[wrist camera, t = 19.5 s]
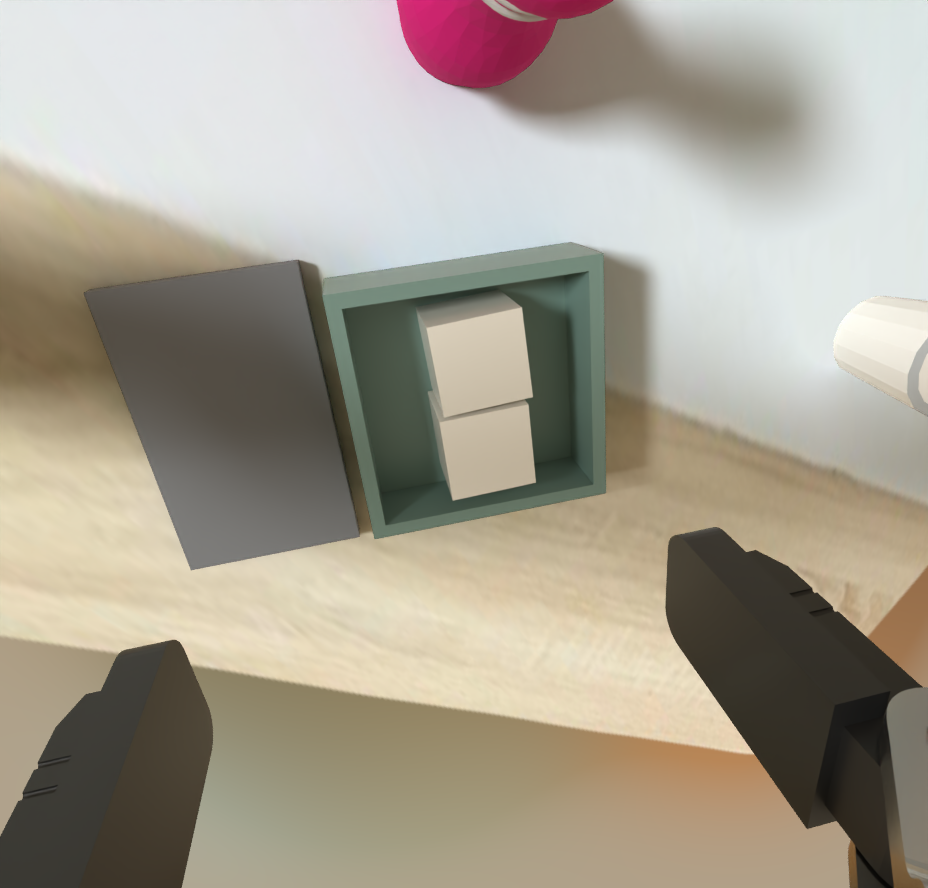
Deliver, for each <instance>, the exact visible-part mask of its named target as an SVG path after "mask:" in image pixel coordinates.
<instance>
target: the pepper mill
mask: <svg viewBox="0 0 928 888" xmlns="http://www.w3.org/2000/svg"><path fill="white" fill-rule="evenodd" d="M612 1H613V0H397V5H398V10H399V15H400V22H401V27H402V31H403V35H404V38H405V41H406V43H407V45H408V47H409V49H410V51H411V52H412V54H413V56H414V57H415V59H416V60H417V62H418V63H419V64H420V65H421V66H422V67H423V68H424V69H425V70H426V71H427V72H428V73H429V74H431V75H432V76H434V77H435V78H437V79H439V80H441V81H443V82H446V83H448V84H453V85H458V86H466V87H471V88H486V87H491V86H496V85H500V84H502V83H504V82H506V81H509V80H511V79H513V78H514V77H516V76H517V75H518V74H520V73H521V72H522V71H524V70H525V69H526V68H527V67H528V66H530V65H531V64H532V62H533V61H534V60H535V59H536V58H537V57H538V56H539V54H540V53H541V52H542V51H543V49H544V48H545V46H546V44H547V43H548V41H549V39H550V38H551V36H552V33H553V31H554V28H555V25H556V23H557V20H558V19H565V18H573V17H577V16H581V15H585V14H588V13H592V12H593V11H595V10H597V9H599V8H601V7H603V6H605V5H606V4H608V3H610V2H612Z"/></svg>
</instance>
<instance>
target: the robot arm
mask: <svg viewBox="0 0 928 888" xmlns="http://www.w3.org/2000/svg"><path fill="white" fill-rule="evenodd" d="M666 616H667V620H668V624H669V627H670V630H671V633H672V635H673V637H674V639H675V641H676V643H677V644H678V646H679V647H680V649H681V650H682V652H683V653H684V654H685V656H686V657H687V659H688V660H689V661H690V663H691V664H692V666H693V667H694V669H695V670H696V671H697V673H698V674H699V676H700V677H701V679H702V680H703V681H704V683H705V684H706V686H707V687H708V689H709V690H710V691H711V693H712V694H713V696H714V697H715V699H716V700H717V701H718V703H719V704H720V706H721V707H722V709H723V710H724V711H725V713H726V714H727V716H728V717H729V718H730V720H731V721H732V723H733V724H734V726H735V727H736V728H737V730H738V731H739V733H740V734H741V736H742V737H743V738H744V740H745V741H746V743H747V744H748V746H749V747H750V748H751V750H752V751H753V753H754V754H755V756H756V757H757V758H758V760H759V761H760V763H761V764H762V765H763V767H764V768H765V770H766V771H767V773H768V774H769V775H770V777H771V778H772V780H773V781H774V783H775V784H776V785H777V787H778V788H779V790H780V791H781V793H782V794H783V795H784V797H785V798H786V800H787V801H788V802H789V804H790V805H791V807H792V808H793V809H794V811H795V812H796V814H797V815H798V817H799V818H800V820H801V821H802V822H803V824H804V825H805V827H806V828H807V829H808V828H812V827H816V826H820V825H823V824H827V823H830V822H834V821H837V822H838V823H839V824H840V826H841V827H842V828H843V829H844V831H845V832H846V833H847V835H848V836H849V838H850V839H851V840H850V843H849V847H848V865H849V883H850V888H928V688H925V687H924V688H923V687H922V686H921V685H920V684H918V683H917V682H916V681H915V680H914V679H913V678H912V677H911V676H909V675H908V674H907V673H906V672H905V671H904V670H903V669H902V668H901V667H899V666H898V665H897V664H896V663H895V662H894V661H893V660H892V659H890V658H889V657H888V656H887V655H886V654H885V653H884V652H882V650H880V649H879V648H878V647H877V646H876V645H875V644H874V643H873V642H872V641H870V640H869V639H868V638H867V637H866V636H865V635H864V634H863V633H862V632H860V631H859V630H858V629H857V628H856V627H855V626H854V625H853V624H852V623H850V622H849V621H848V620H847V619H846V618H845V617H844V616H843V615H842V614H840V613H839V612H838V611H837V612H835V611H834V610H833V606H831V605H830V604H829V603H828V602H827V601H826V600H825V599H824V598H823V597H821V596H820V595H819V594H818V593H814V592H813V591H812V588H811V587H810V586H809V585H808V584H807V583H806V582H805V581H804V580H803V579H801V578H800V577H799V576H798V575H797V574H796V573H795V572H794V571H793V570H791V569H790V568H789V567H788V566H786V565H784V564H782V563H780V562H778V561H776V560H774V559H772V558H770V557H768V556H766V555H764V554H762V553H760V552H758V551H756V550H754V551H750V552H745V551H744V550H743V549H742V548H741V547H740V546H739V545H738V544H737V543H736V542H735V541H734V540H733V539H732V538H731V537H730V536H728V535H727V534H726V533H725V532H724V531H723V530H722V529H720V528H717V527H713V528H708V529H704V530H699V531H694V532H689V533H685V534H680V535H675V536H673V537H672V538H671V539H670V541H669V545H668V561H667V583H666ZM212 744H213V726H212V719H211V714H210V710H209V707H208V705H207V702H206V700H205V698H204V695H203V693H202V690H201V688H200V686H199V683H198V681H197V679H196V676H195V674H194V672H193V669H192V667H191V665H190V662H189V660H188V657H187V655H186V653H185V650H184V648H183V646H182V645H181V643H180V642H178V641H177V640H170V641H165V642H161V643H156V644H151V645H146V646H142V647H137V648H132V649H127V650H124V651H122V652H120V653H119V654H118V656H117V657H116V659H115V661H114V663H113V666H112V668H111V670H110V672H109V674H108V677H107V679H106V681H105V683H104V685H103V687H102V690H101V691H99V692H94V693H89V694H86V695H85V696H84V697H83V698H82V699H81V700H80V701H79V702H78V703H77V704H76V706H75V707H74V708H73V709H72V710H71V711H70V712H69V713H68V714H67V716H66V717H65V718H64V719H63V720H62V721H61V722H60V723H59V724H58V725H57V726H56V728H55V730H54V732H53V734H52V736H51V738H50V740H49V742H48V744H47V745H46V748H45V750H44V751H43V753H42V755H41V757H40V759H39V761H38V769H36V770H34V771H33V773H32V775H31V777H30V779H29V781H28V783H27V785H26V787H25V789H24V791H23V799H22V800H21V801H18V803H17V805H16V807H15V809H14V811H13V813H12V815H11V817H10V819H9V820H8V822H7V824H6V826H5V828H4V830H3V833H2V834H1V836H0V888H181V887H182V883H183V879H184V874H185V869H186V865H187V861H188V856H189V851H190V847H191V843H192V838H193V833H194V829H195V824H196V819H197V815H198V811H199V806H200V802H201V797H202V793H203V788H204V783H205V779H206V774H207V770H208V765H209V761H210V756H211V751H212Z"/></svg>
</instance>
